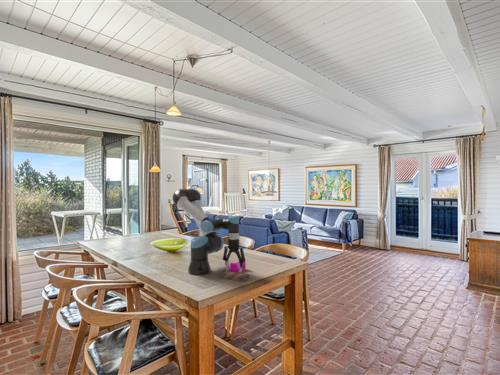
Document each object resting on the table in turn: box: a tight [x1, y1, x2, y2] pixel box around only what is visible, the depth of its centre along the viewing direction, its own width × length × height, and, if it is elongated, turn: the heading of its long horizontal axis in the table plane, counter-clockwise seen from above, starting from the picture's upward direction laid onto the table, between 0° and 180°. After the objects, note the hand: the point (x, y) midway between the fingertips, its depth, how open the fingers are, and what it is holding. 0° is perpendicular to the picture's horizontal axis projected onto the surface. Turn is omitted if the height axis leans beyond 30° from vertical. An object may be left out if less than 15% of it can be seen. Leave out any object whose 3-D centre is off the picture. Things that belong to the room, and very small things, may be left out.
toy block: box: [229, 260, 247, 273], centre depth 190 cm, size 15×6×8 cm, turn 153°
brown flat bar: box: [219, 270, 250, 282], centre depth 176 cm, size 17×7×2 cm, turn 66°
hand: (234, 271), depth 189 cm, fingers open, 9 cm apart
